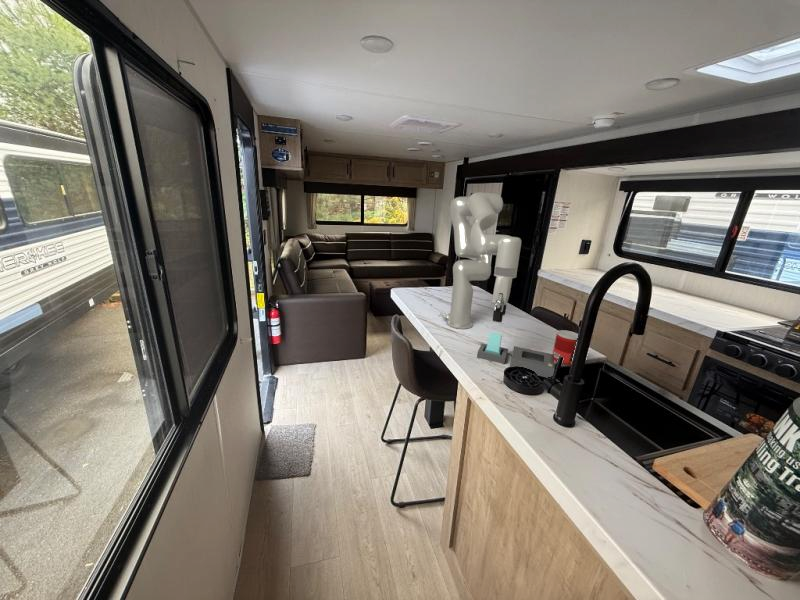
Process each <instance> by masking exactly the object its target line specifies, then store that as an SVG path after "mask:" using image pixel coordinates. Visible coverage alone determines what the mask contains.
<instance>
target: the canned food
mask: <svg viewBox="0 0 800 600" xmlns="http://www.w3.org/2000/svg"><path fill="white" fill-rule="evenodd" d="M578 334H579V333H577V332H574V331H570V330H564V329H563V330H562V329H561V330H560V329H559V330H557V332H556V336H555V341H554V345H553V350H552V354H554V362H556V363H558V362H557V360H558V357H559V356H562V357H563V358H564V360H563V364H562V365H565V364H566V366H571V365H570V364H571V362H572V358H573V354H574V350H575V346H576V342H577V338H578Z"/></svg>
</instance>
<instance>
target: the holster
mask: <svg viewBox="0 0 800 600" xmlns="http://www.w3.org/2000/svg"><path fill="white" fill-rule="evenodd" d="M487 344H488V343H483V342H482V343H481V344H480V346H479V348H478V350H477V353H476V358H479V359H481V360H487V361H491V362H495V363H498V364H501V365H502V364H503V365H505V363H506V359H507V356H508V351H509V348H505V347H502V346H500V348H501V354H500V355H498V354H494V353H489V352H485V349H486V347H487Z"/></svg>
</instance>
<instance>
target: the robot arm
mask: <svg viewBox="0 0 800 600" xmlns="http://www.w3.org/2000/svg"><path fill="white" fill-rule="evenodd" d="M503 206H504V201H503V198H502V196H501V195H500V194H498V193H492V192H482V191H481V192H480V191H478V192H474V193H473V194H471V195H470V196H458V197H455V198H453V199H452V200H451V203H450V208H449V215H450V220H451V224H452V226H453V235H454V237H453V238H454V251H455V254H456V256H457V257H460V258H465V259H459V260H457V261H455V262H454V263H453V266H452V276H453V277H452V279H453V283H452V293H451V302H450V303H451V304H450V313H446V312H441V317H442V319H446V321H445V323H446V324H445V325H447V326H449V327H450V328H454V329H459V330H460V329H461V330H467V329H470V328H473V322H471V321H470V319H471V311H472V303H473V297H474V296H473V295H474V289H473V286H472V284H471V283H470V282H471V281H487V280H488V279H490V276H491V275H492V264H491V263H492V260H491V256H496V257H495V266H494V273H493V276H494V277H495V282H494V287H493V294H492V300H491V304H492V305H493V304H494V307H493V308H494V309H493V314H492V322H496V323H502V321H503V316H505V315H506V312H507V311H506V310H507V303H508V302H509V298H510V294H511V291H512V290H511V288H512V284H513V283H512V282H513V279H515V278H517V273H518V267H519V261H520V253H521V247H522V239H521V238H520V237H517V236H511V235H507V234H494V233H491V234H490V233H484V231H487V230H489V229H490V228H492V227H493V226H494V225H495V224H496V222H497V220H498V217H497V216H498V215H497V214H500V212H502V210H503ZM466 217H472V218H473V221H474V223H473V224H471V222H470V221H469V220H468V219H467V218H466ZM466 258H467V259H466ZM470 258H471V259H470ZM473 258H474V259H473Z"/></svg>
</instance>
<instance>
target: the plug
mask: <svg viewBox="0 0 800 600" xmlns="http://www.w3.org/2000/svg"><path fill="white" fill-rule="evenodd" d="M502 337H503V334H502V333H497V332H492V331H490V332H489V334H488V338H487V343H486V344H487V347H486V349H485V352H489V353H494V354H498V355H500V354H501V348H500V347H501V345H502V344H501V343H502Z"/></svg>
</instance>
